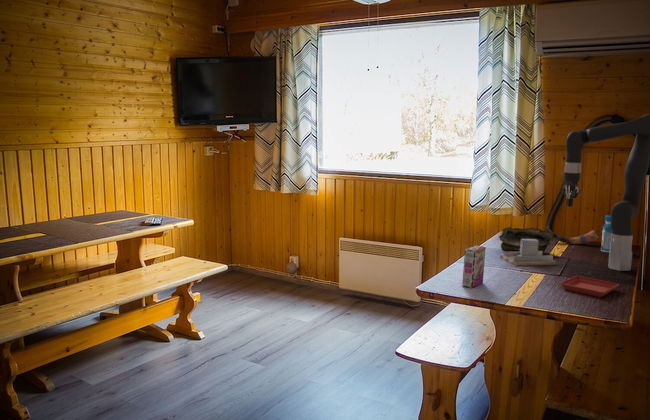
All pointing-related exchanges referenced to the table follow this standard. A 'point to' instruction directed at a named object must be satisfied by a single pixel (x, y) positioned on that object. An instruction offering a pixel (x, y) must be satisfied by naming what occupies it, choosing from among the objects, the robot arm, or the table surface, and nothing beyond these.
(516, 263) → the rail board
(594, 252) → the table surface
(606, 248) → the beverage bottle
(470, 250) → the candy bar box
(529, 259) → the rail
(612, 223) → the robot arm
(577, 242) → the drinking horn
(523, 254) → the medicine box
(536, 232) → the hollow geode rock
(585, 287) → the plant saucer
